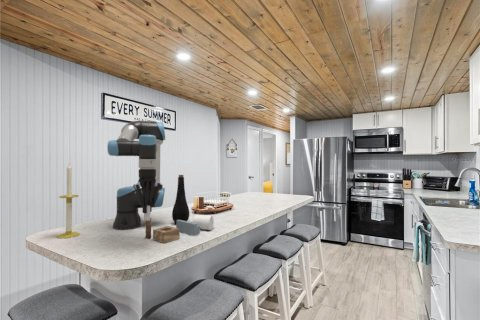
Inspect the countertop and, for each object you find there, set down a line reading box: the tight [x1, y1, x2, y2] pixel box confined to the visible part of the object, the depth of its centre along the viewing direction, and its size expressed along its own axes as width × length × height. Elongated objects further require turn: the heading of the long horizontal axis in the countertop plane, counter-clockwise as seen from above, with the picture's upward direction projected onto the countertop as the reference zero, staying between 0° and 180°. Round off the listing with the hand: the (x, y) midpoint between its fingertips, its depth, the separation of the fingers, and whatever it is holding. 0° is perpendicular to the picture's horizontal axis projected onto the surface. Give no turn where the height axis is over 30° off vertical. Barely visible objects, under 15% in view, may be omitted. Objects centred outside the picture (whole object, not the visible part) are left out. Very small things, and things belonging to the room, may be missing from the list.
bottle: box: [171, 174, 190, 225], centre depth 158 cm, size 11×11×30 cm
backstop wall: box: [175, 220, 201, 237], centre depth 138 cm, size 14×5×6 cm, turn 55°
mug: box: [192, 214, 214, 231], centre depth 147 cm, size 12×10×8 cm
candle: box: [57, 162, 81, 239], centre depth 131 cm, size 10×10×38 cm
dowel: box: [145, 217, 152, 240], centre depth 128 cm, size 3×3×10 cm
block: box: [152, 225, 181, 244], centre depth 126 cm, size 9×9×5 cm
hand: (147, 219), depth 117 cm, fingers closed
